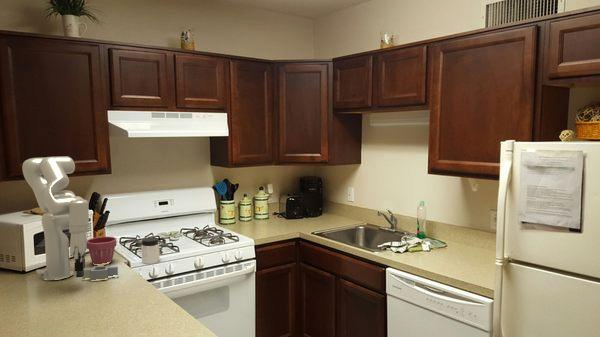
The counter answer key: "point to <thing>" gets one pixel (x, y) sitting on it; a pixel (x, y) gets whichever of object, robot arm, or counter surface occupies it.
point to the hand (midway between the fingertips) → (79, 269)
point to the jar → (150, 250)
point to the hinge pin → (81, 273)
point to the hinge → (100, 272)
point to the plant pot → (101, 249)
